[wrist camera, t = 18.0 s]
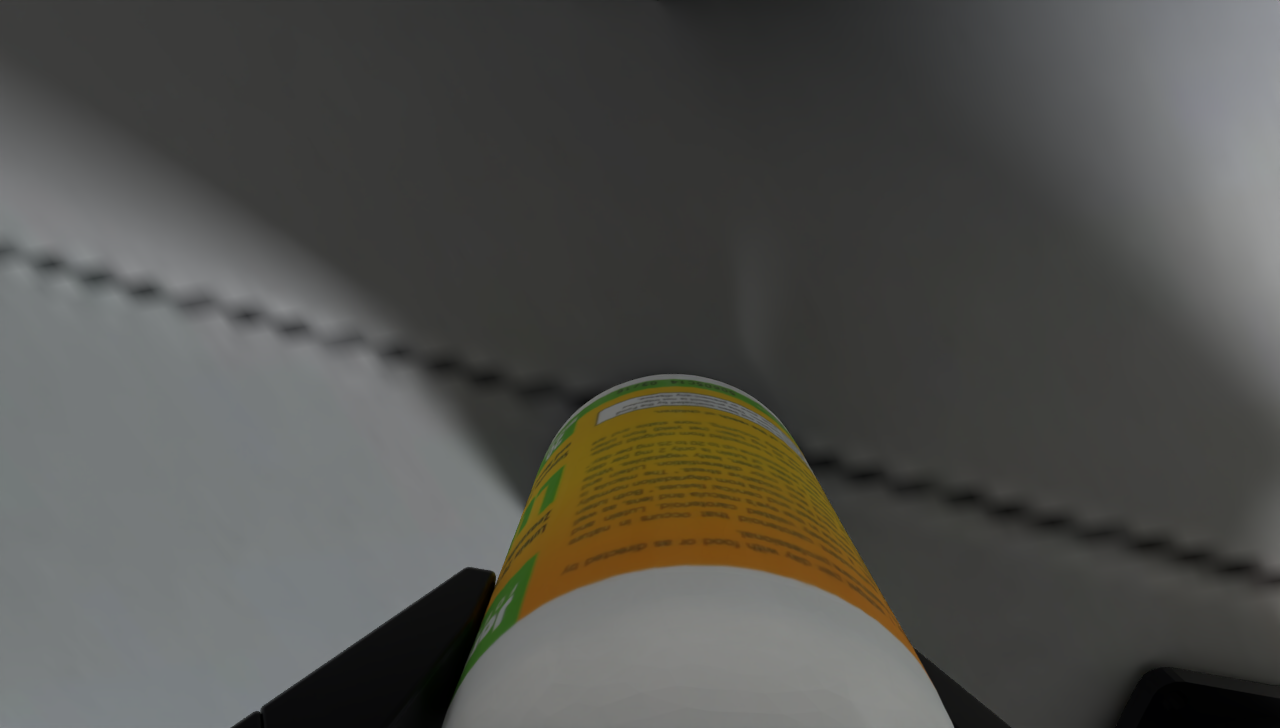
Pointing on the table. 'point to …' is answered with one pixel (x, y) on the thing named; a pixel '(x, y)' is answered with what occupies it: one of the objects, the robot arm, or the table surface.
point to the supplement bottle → (686, 583)
